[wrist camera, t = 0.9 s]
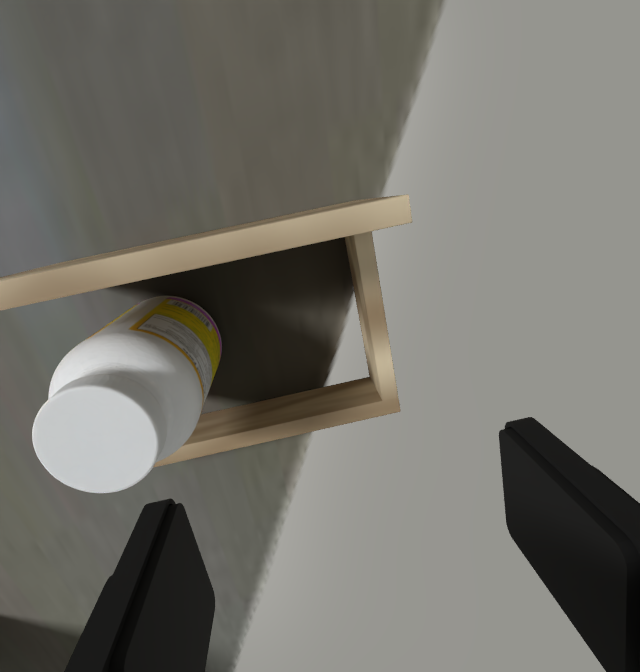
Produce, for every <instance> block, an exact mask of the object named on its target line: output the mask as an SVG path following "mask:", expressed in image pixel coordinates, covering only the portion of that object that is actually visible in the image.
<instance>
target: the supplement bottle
mask: <svg viewBox="0 0 640 672" xmlns="http://www.w3.org/2000/svg"><path fill="white" fill-rule="evenodd" d="M221 353H222V341H221V336H220V333H219V330H218V327H217V325H216V323H215V322H214V320H213V319H212V317H211V316H210V315H209V314H208V313H207V312H206V311H205V310H204V309H203V308H202V307H200V306H199V305H197V304H195V303H194V302H192V301H189V300H187V299H184V298H181V297H176V296H157V297H153V298H149V299H147V300H144V301H142V302H140V303H138V304H137V305H135V306H134V307H132V308H131V309H129V310H128V311H126V312H125V313H124V314H122V315H121V316H119V317H118V318H116V319H115V320H114V321H112V322H111V323H109V324H108V325H106V326H105V327H103V328H102V329H101V330H99V331H98V332H96V333H95V334H93V335H92V336H90V337H89V338H87V339H86V340H84V341H83V342H81V343H80V344H79V345H77V346H76V347H75V348H73V349H72V350H71V351H70V352H69V353H68V354H67V355H66V356H65V357H64V358H63V359H62V361H61V362H60V363H59V365H58V367H57V368H56V370H55V372H54V375H53V377H52V380H51V384H50V388H49V400H48V401H47V402H46V403H45V404H44V405H43V406H42V407H41V409H40V410H39V412H38V414H37V416H36V418H35V421H34V425H33V430H32V440H33V446H34V449H35V452H36V454H37V456H38V458H39V460H40V461H41V463H42V464H43V466H44V467H45V468H46V469H47V470H48V471H49V473H50V474H51V475H53V476H54V477H55V478H56V479H58V480H59V481H61V482H62V483H64V484H66V485H68V486H70V487H72V488H75V489H78V490H82V491H86V492H93V493H110V492H116V491H120V490H123V489H126V488H129V487H131V486H133V485H135V484H136V483H138V482H139V481H141V480H142V479H143V478H144V477H145V476H146V475H147V474H148V473H149V472H150V471H151V469H152V468H153V466H154V465H155V463H156V462H158V461H160V460H163V459H165V458H167V457H168V456H170V455H171V454H173V453H174V452H176V451H177V450H178V449H179V448H180V447H181V446H182V445H183V444H184V443H185V442H186V441H187V440H188V439H189V437H190V436H191V434H192V433H193V431H194V429H195V427H196V425H197V422H198V420H199V417H200V414H201V411H202V409H203V406H204V403H205V400H206V397H207V395H208V392H209V389H210V387H211V384H212V381H213V379H214V376H215V373H216V370H217V368H218V365H219V362H220V358H221Z"/></svg>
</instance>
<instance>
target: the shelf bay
mask: <svg viewBox="0 0 640 672" xmlns="http://www.w3.org/2000/svg"><path fill="white" fill-rule="evenodd" d="M407 223H412V217H411V209H410V202H409V195H400V196H391V197H382V198H372V199H363V200H354V201H350V202H345V203H340V204H335V205H331V206H326V207H321V208H316V209H312V210H307V211H302V212H297V213H293V214H288V215H283V216H279V217H274V218H269V219H264V220H260V221H255V222H250V223H245V224H241V225H236V226H231V227H227V228H222V229H217V230H212V231H208V232H203V233H198V234H193V235H189V236H184V237H179V238H175V239H170V240H165V241H160V242H156V243H151V244H146V245H141V246H137V247H132V248H127V249H123V250H118V251H113V252H108V253H104V254H99V255H94V256H89V257H85V258H80V259H75V260H71V261H66V262H61V263H57V264H53V265H49V266H45V267H41V268H37V269H33V270H29V271H25V272H21V273H17V274H12V275H8V276H4V277H0V310H5V309H9V308H14V307H19V306H23V305H28V304H33V303H37V302H42V301H47V300H51V299H56V298H61V297H65V296H70V295H75V294H79V293H84V292H89V291H93V290H98V289H103V288H108V287H112V286H117V285H122V284H126V283H131V282H136V281H140V280H145V279H150V278H154V277H159V276H164V275H168V274H173V273H178V272H182V271H187V270H192V269H196V268H201V267H206V266H210V265H215V264H220V263H225V262H229V261H234V260H239V259H243V258H248V257H253V256H257V255H262V254H267V253H271V252H276V251H281V250H285V249H290V248H295V247H299V246H304V245H309V244H313V243H318V242H323V241H327V240H332V239H337V238H342V237H345V242H346V247H347V253H348V258H349V264H350V270H351V275H352V281H353V286H354V292H355V297H356V302H357V308H358V314H359V320H360V325H361V331H362V336H363V341H364V347H365V353H366V358H367V364H368V370H369V375H370V377H367V378H363V379H358V380H354V381H349V382H345V383H340V384H336V385H331V386H327V387H322V388H318V389H313V390H309V391H304V392H300V393H295V394H291V395H286V396H282V397H277V398H273V399H268V400H264V401H259V402H255V403H250V404H246V405H241V406H237V407H233V408H228V409H224V410H219V411H215V412H210V413H206V414H201V415H200V417H199V420H198V422H197V425H196V427H195V429H194V431H193V433H192V434H191V436H190V437H189V439H188V440H187V441H186V442H185V443H184V444H183V445H182V446H181V447H180V448H179V449H178V450H177V451H176V452H174V453H173V454H171V455H170V456H168V457H167V458H165V459H163V460H160V461H158V462H156V463H155V465H154V466H153V467H157V466H161V465H166V464H170V463H175V462H179V461H184V460H188V459H192V458H197V457H201V456H206V455H210V454H215V453H219V452H223V451H228V450H232V449H237V448H241V447H246V446H250V445H254V444H259V443H263V442H268V441H272V440H277V439H281V438H285V437H290V436H294V435H299V434H303V433H308V432H312V431H316V430H320V429H325V428H330V427H334V426H338V425H343V424H347V423H352V422H356V421H361V420H365V419H369V418H373V417H378V416H383V415H387V414H391V413H396V412H400V405H399V400H398V393H397V387H396V381H395V374H394V368H393V362H392V356H391V350H390V343H389V338H388V331H387V324H386V318H385V312H384V306H383V300H382V294H381V287H380V281H379V275H378V269H377V262H376V256H375V251H374V244H373V237H372V231H374V230H379V229H383V228H388V227H393V226H398V225H402V224H407Z"/></svg>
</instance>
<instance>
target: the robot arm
mask: <svg viewBox="0 0 640 672" xmlns="http://www.w3.org/2000/svg"><path fill="white" fill-rule="evenodd" d="M499 441H500V453H501V465H502V477H503V488H504V501H505V513H506V523H507V527H508V530H509V533H510V535H511V537H512V538H513V540H514V541H515V543H516V544H517V546H518V547H519V549H520V550H521V551H522V553H523V554H524V556H525V557H526V558H527V560H528V561H529V563H530V564H531V566H532V567H533V568H534V570H535V571H536V573H537V574H538V576H539V577H540V578H541V580H542V581H543V583H544V584H545V585H546V587H547V588H548V590H549V591H550V593H551V594H552V595H553V597H554V598H555V600H556V601H557V602H558V604H559V605H560V607H561V608H562V610H563V611H564V612H565V614H566V615H567V617H568V618H569V619H570V621H571V622H572V624H573V625H574V627H575V628H576V629H577V631H578V632H579V634H580V635H581V636H582V638H583V639H584V641H585V642H586V644H587V645H588V646H589V648H590V649H591V651H592V652H593V654H594V655H595V656H596V658H597V659H598V661H599V662H600V663H601V665H602V666H603V668H604V669H605V670H606V672H640V503H638V502H637V501H636V500H635V499H634V498H632V497H631V496H630V495H629V494H627V493H626V492H625V491H624V490H623V489H621V488H620V487H619V486H618V485H616V484H615V483H614V482H613V481H611V480H610V479H609V478H608V477H607V476H606V475H604V474H603V473H602V472H601V471H599V470H598V469H596V468H595V467H593V466H591V465H590V464H588V463H587V462H586V461H585V460H584V459H583V458H581V457H580V456H579V455H578V454H576V453H575V452H574V451H573V450H572V449H570V448H569V447H568V446H567V445H566V444H564V443H563V442H562V441H561V440H560V439H558V438H557V437H556V436H555V435H553V434H552V433H551V432H550V431H549V430H547V429H546V428H545V427H544V426H543V425H541V424H540V423H539V422H538V421H536V420H535V419H534V418H532V417H528V418H524V419H519V420H515V421H510V422H507V423H506V425H505V429H504V430H501V431H500V432H499ZM214 611H215V596H214V591H213V588H212V585H211V582H210V579H209V577H208V574H207V571H206V568H205V565H204V562H203V560H202V557H201V554H200V551H199V548H198V545H197V543H196V540H195V537H194V534H193V531H192V528H191V526H190V523H189V520H188V517H187V514H186V511H185V509H184V506H183V505H182V504H181V503H178V504H175V502H174V501H173V499H167V500H162V501H158V502H154V503H149V504H146V505H145V506H144V508H143V510H142V512H141V514H140V516H139V519H138V521H137V523H136V525H135V527H134V530H133V532H132V534H131V536H130V538H129V541H128V543H127V545H126V547H125V549H124V552H123V554H122V556H121V558H120V560H119V563H118V565H117V567H116V569H115V571H114V573H113V575H112V576H110V577H109V579H108V580H107V582H106V584H105V586H104V588H103V590H102V592H101V594H100V596H99V598H98V601H97V603H96V605H95V607H94V609H93V611H92V613H91V616H90V618H89V620H88V622H87V624H86V626H85V628H84V631H83V633H82V635H81V637H80V639H79V641H78V644H77V646H76V648H75V650H74V652H73V654H72V656H71V659H70V661H69V663H68V665H67V667H66V669H65V671H64V672H205V666H206V660H207V654H208V648H209V642H210V635H211V629H212V623H213V617H214Z"/></svg>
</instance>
